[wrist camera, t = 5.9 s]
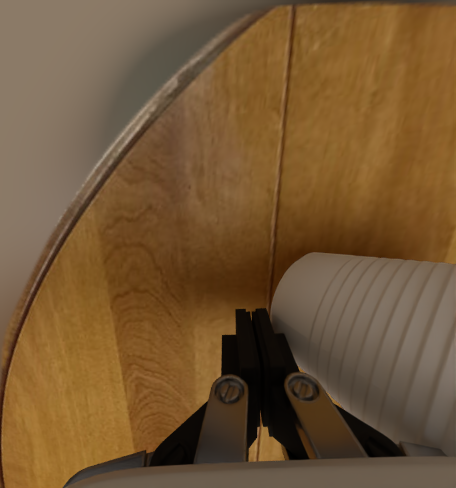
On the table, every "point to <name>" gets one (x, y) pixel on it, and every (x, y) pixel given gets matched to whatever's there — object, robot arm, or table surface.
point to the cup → (377, 340)
